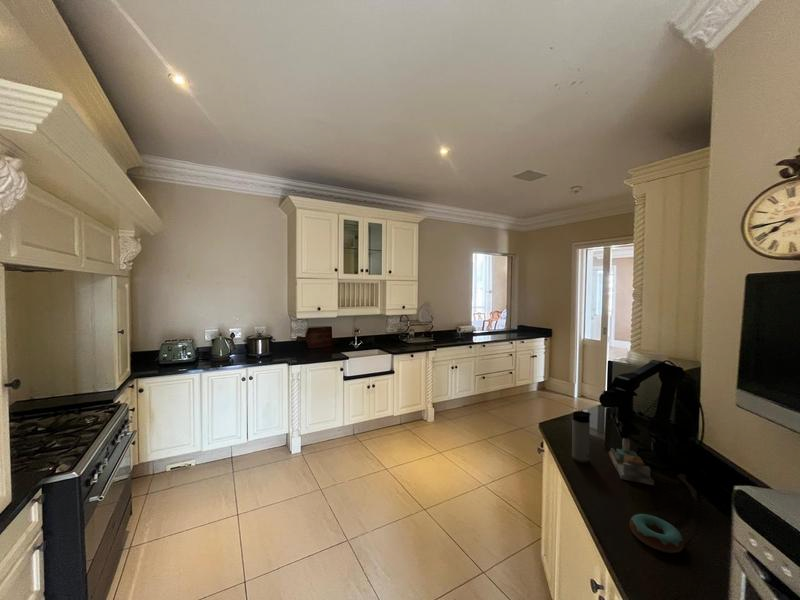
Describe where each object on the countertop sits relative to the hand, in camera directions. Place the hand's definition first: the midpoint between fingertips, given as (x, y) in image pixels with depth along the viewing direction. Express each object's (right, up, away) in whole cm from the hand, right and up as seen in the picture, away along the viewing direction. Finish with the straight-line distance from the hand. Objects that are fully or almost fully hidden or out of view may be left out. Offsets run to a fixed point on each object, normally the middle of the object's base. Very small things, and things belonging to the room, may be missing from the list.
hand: (624, 442), depth 131 cm
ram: (-2, -5, -4) cm, 7 cm away
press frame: (-3, -7, -8) cm, 11 cm away
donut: (-23, -8, -44) cm, 50 cm away
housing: (-5, -6, -12) cm, 14 cm away
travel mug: (-19, -7, -1) cm, 20 cm away
